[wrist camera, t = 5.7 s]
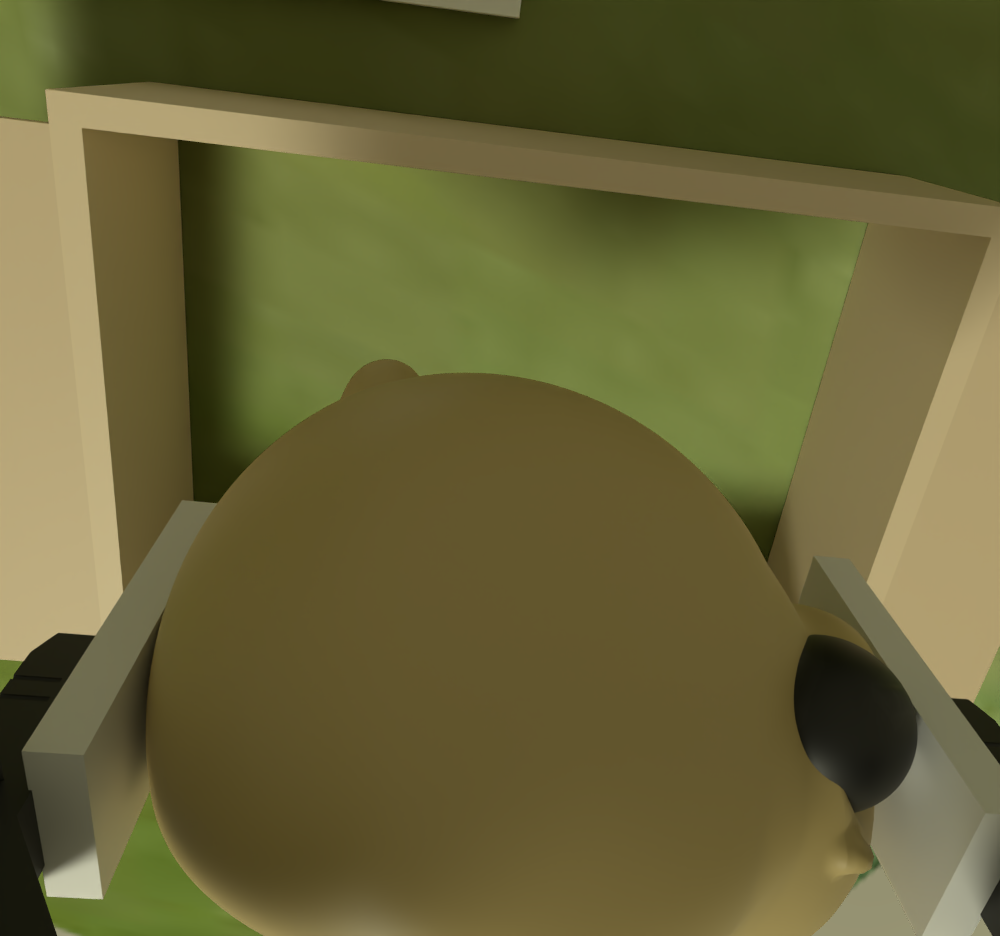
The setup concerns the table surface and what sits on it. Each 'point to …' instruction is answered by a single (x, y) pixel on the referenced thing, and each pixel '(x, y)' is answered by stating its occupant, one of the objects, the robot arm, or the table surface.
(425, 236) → the table surface
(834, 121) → the table surface
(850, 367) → the carton
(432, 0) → the felt mat
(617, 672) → the beige toy figure
